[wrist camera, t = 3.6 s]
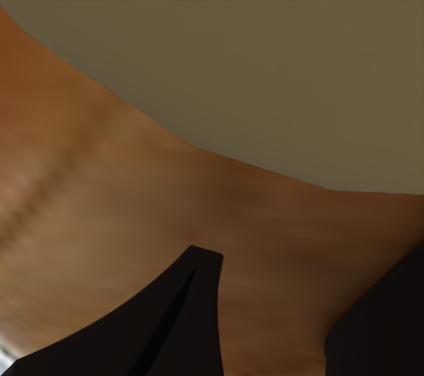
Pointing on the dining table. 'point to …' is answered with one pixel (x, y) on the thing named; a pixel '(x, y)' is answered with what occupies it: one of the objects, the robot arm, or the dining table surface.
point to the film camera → (383, 326)
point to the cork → (261, 78)
